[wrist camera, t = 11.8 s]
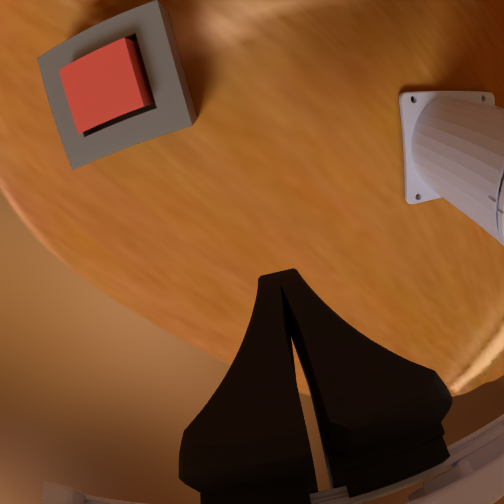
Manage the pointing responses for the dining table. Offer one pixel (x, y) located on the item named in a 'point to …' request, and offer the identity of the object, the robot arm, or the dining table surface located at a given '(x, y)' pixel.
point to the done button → (106, 84)
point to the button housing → (159, 75)
